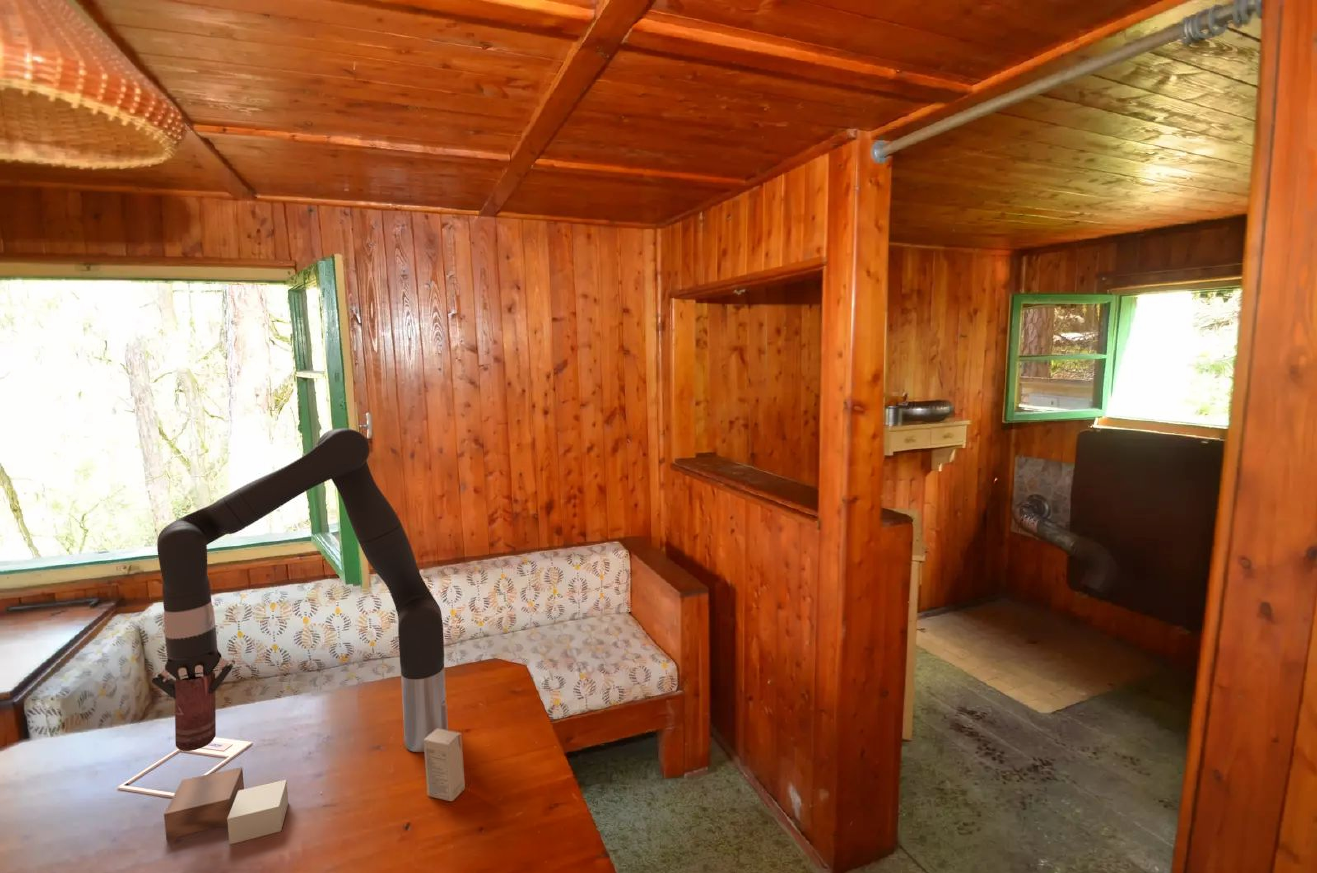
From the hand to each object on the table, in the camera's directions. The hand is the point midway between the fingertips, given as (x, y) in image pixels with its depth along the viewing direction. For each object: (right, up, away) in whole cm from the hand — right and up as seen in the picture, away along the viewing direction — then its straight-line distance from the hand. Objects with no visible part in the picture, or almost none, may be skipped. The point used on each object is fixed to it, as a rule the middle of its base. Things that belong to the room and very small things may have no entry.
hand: (198, 715), depth 115 cm
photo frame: (-15, -19, +17) cm, 29 cm away
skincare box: (+44, -19, +8) cm, 49 cm away
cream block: (+12, -20, 0) cm, 24 cm away
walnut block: (0, -20, +2) cm, 20 cm away
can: (-1, -6, +1) cm, 6 cm away
